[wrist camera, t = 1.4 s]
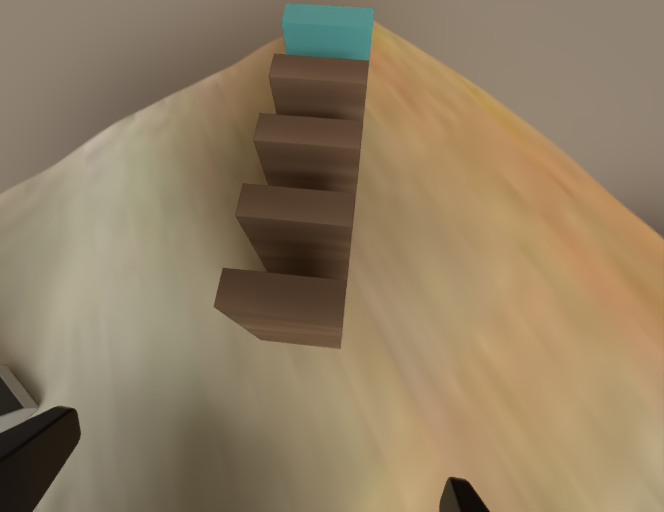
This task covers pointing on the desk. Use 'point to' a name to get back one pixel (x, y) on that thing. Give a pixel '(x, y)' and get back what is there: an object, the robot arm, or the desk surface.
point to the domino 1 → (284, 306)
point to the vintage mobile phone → (13, 400)
